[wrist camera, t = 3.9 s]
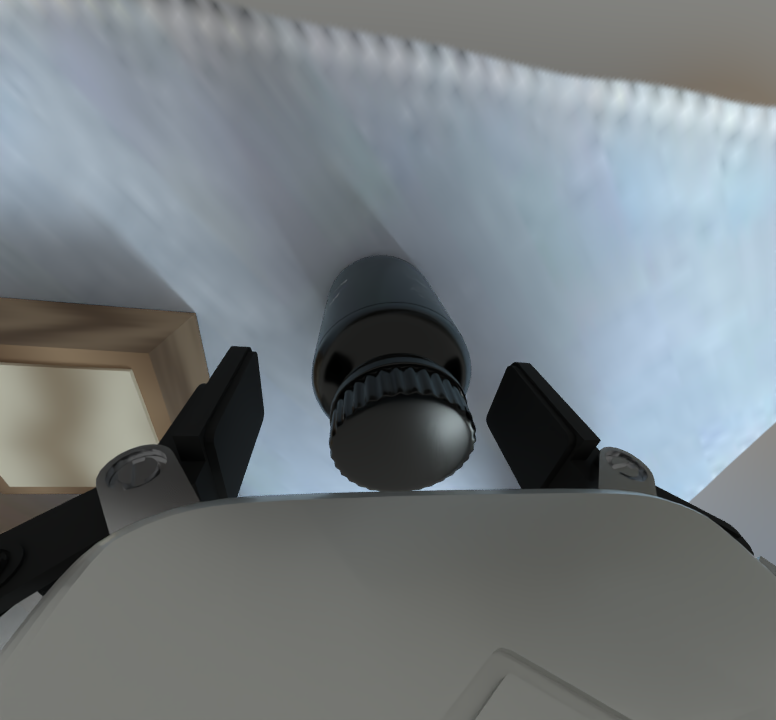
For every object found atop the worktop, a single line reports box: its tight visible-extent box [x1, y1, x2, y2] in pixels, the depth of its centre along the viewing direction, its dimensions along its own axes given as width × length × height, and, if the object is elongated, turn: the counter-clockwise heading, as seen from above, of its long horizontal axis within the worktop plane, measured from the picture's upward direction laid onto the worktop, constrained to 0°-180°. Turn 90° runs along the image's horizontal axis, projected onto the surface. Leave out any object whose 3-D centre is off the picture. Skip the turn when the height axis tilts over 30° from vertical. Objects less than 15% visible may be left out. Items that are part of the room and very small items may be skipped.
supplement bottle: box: [312, 255, 476, 492], centre depth 14 cm, size 7×7×12 cm
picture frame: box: [0, 297, 210, 494], centre depth 18 cm, size 11×11×5 cm
